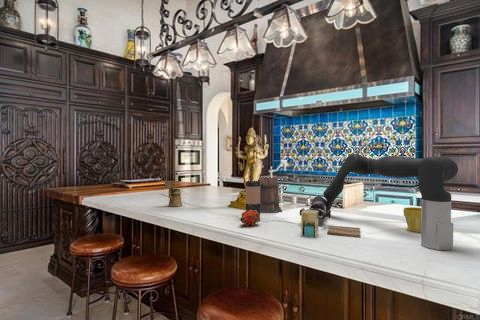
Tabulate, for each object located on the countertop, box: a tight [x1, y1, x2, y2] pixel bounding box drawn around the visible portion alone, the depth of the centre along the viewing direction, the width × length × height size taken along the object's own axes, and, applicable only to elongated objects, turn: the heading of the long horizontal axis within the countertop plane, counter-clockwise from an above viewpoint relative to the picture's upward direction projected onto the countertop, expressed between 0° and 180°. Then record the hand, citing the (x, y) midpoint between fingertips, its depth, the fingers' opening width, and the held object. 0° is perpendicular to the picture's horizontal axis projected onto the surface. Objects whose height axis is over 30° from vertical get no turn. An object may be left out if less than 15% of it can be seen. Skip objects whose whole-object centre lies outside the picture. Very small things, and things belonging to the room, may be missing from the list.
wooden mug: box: [163, 179, 183, 208], centre depth 195 cm, size 9×14×18 cm, turn 151°
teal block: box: [303, 224, 315, 238], centre depth 127 cm, size 4×4×4 cm
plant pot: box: [403, 206, 421, 233], centre depth 134 cm, size 10×10×10 cm
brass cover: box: [300, 209, 319, 238], centre depth 127 cm, size 6×6×10 cm
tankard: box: [259, 176, 283, 214], centre depth 179 cm, size 24×17×20 cm
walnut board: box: [326, 225, 361, 238], centre depth 131 cm, size 13×13×1 cm
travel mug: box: [245, 180, 261, 221], centre depth 157 cm, size 8×8×20 cm
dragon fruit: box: [240, 209, 261, 227], centre depth 143 cm, size 8×8×12 cm
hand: (313, 215), depth 137 cm, fingers open, 8 cm apart
